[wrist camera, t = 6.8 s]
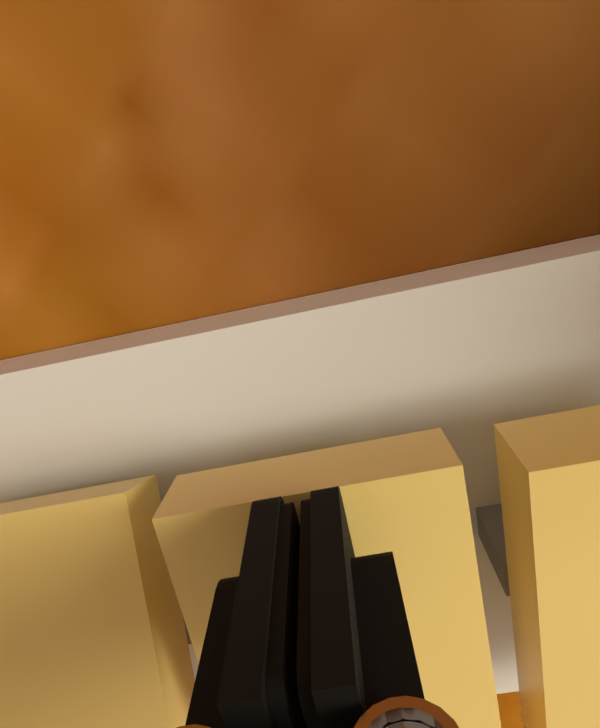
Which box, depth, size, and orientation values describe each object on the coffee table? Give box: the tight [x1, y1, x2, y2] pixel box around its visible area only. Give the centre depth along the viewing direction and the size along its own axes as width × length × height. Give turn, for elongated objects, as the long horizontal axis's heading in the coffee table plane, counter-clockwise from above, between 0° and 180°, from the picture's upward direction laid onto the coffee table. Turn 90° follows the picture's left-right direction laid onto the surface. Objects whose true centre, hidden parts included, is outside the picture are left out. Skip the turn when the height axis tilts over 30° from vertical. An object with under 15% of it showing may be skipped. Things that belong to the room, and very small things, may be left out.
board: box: [0, 234, 600, 694], centre depth 15 cm, size 14×23×4 cm, turn 102°
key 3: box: [0, 475, 195, 728], centre depth 12 cm, size 9×6×2 cm, turn 12°
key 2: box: [152, 428, 501, 728], centre depth 12 cm, size 9×6×2 cm, turn 12°
